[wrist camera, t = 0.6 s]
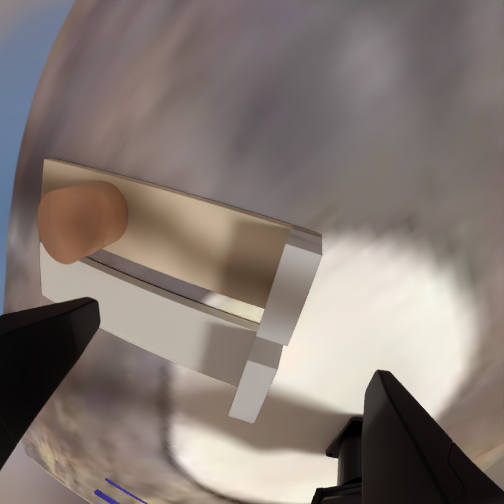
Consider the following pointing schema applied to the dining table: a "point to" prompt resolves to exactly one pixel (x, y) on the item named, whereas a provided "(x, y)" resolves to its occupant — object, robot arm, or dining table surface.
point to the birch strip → (210, 245)
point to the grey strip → (172, 327)
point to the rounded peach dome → (81, 220)
